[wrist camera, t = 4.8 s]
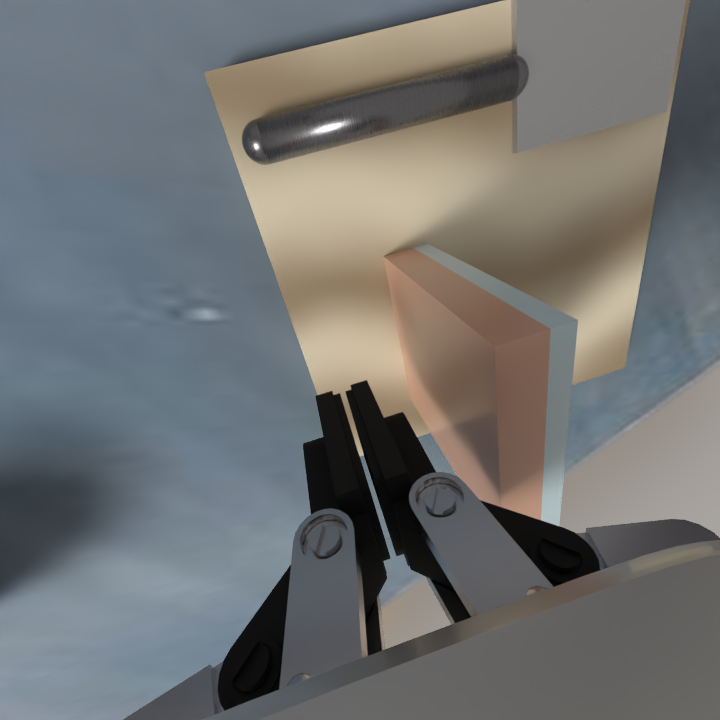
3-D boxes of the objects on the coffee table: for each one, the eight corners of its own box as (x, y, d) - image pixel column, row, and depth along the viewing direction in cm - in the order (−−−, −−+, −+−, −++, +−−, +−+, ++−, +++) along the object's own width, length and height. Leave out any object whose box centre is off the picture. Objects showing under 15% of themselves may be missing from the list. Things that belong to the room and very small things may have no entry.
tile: (383, 256, 14) (494, 347, 7) (427, 243, 14) (578, 320, 7) (410, 399, 18) (502, 551, 11) (445, 387, 18) (558, 530, 11)
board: (209, 80, 11) (203, 72, 10) (663, -30, 13) (698, -46, 12) (337, 446, 20) (341, 462, 18) (607, 357, 21) (624, 367, 20)
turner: (214, 60, 10) (208, 48, 9) (685, -52, 12) (727, -73, 10) (268, 220, 13) (268, 225, 12) (658, 112, 14) (690, 109, 13)
